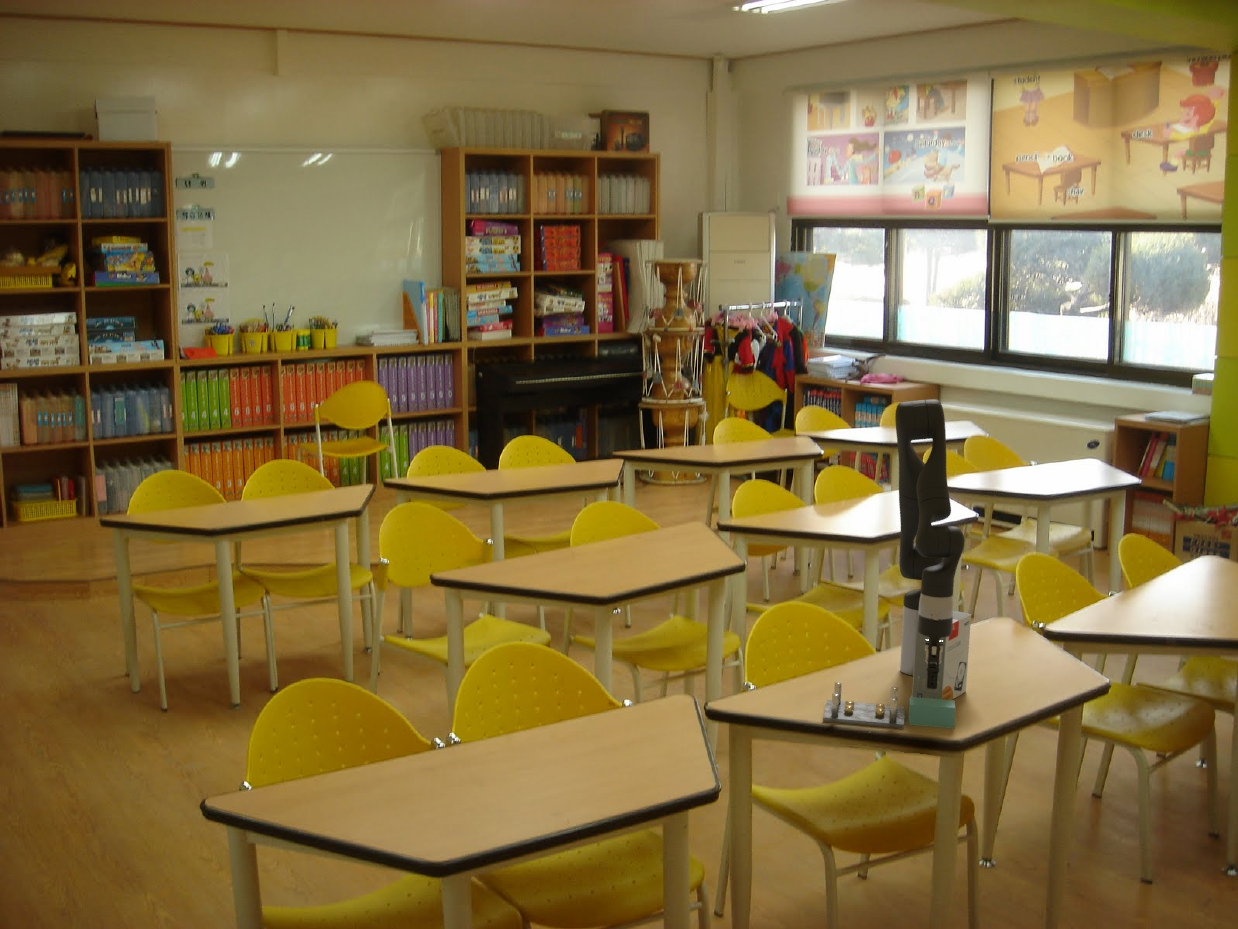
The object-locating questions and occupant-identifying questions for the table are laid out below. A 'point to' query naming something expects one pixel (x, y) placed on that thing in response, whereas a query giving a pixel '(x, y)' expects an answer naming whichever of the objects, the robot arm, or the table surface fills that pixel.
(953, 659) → the hard drive box
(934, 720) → the green box
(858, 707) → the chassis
